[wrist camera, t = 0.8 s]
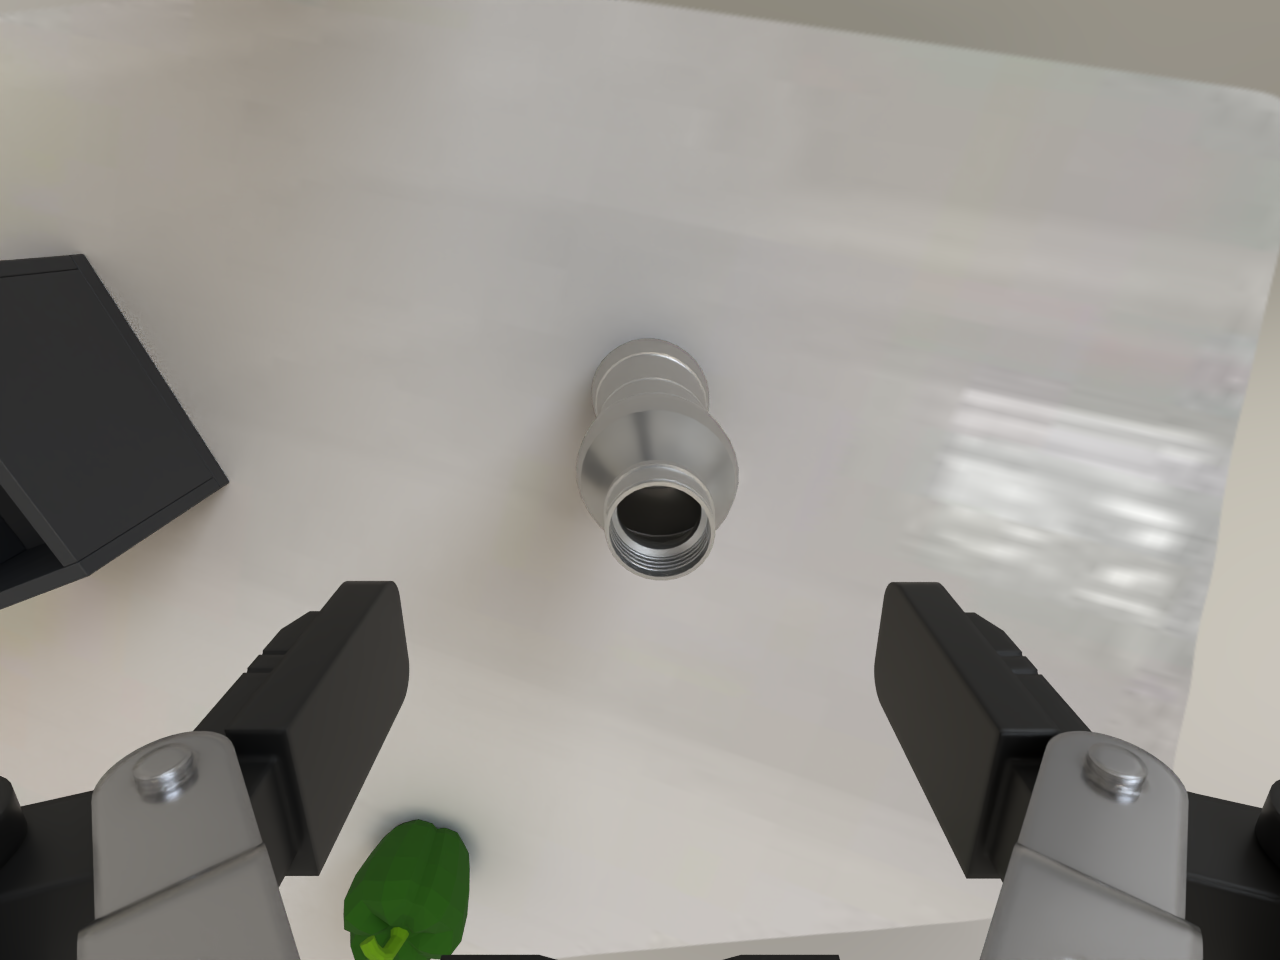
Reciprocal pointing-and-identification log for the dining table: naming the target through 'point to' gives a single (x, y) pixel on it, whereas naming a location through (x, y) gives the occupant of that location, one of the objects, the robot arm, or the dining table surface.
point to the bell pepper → (410, 895)
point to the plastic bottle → (655, 460)
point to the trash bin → (82, 431)
